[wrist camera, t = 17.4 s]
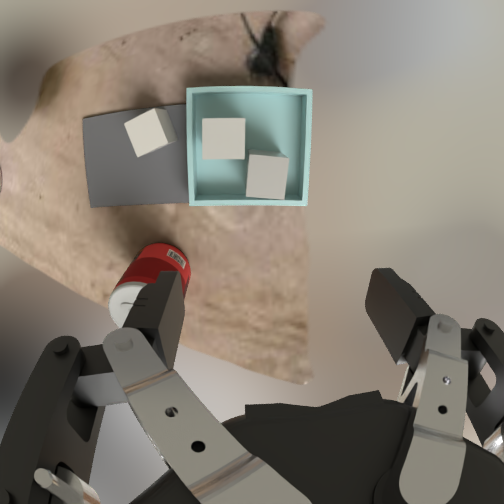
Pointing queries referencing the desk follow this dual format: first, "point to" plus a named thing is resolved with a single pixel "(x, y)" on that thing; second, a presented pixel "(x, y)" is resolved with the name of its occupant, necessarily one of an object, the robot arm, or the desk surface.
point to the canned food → (146, 277)
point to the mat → (134, 162)
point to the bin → (249, 141)
